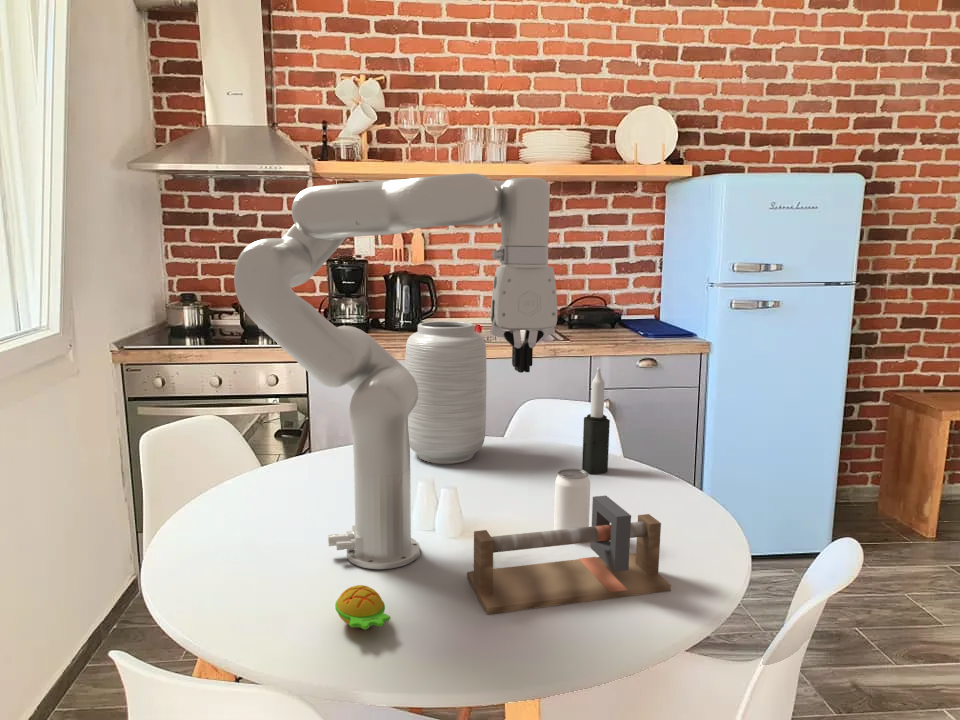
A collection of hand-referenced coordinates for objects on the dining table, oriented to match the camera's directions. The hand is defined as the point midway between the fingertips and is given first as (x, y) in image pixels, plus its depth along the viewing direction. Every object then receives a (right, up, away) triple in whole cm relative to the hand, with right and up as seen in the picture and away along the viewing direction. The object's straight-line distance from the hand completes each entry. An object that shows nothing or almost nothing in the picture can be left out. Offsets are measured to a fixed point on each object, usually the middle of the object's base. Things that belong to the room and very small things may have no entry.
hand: (522, 370), depth 118 cm
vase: (-16, -23, +65) cm, 70 cm away
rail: (+7, -34, -3) cm, 35 cm away
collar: (+14, -30, -1) cm, 34 cm away
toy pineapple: (-23, -36, -16) cm, 46 cm away
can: (+10, -31, +17) cm, 37 cm away
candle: (+21, -25, +54) cm, 63 cm away
